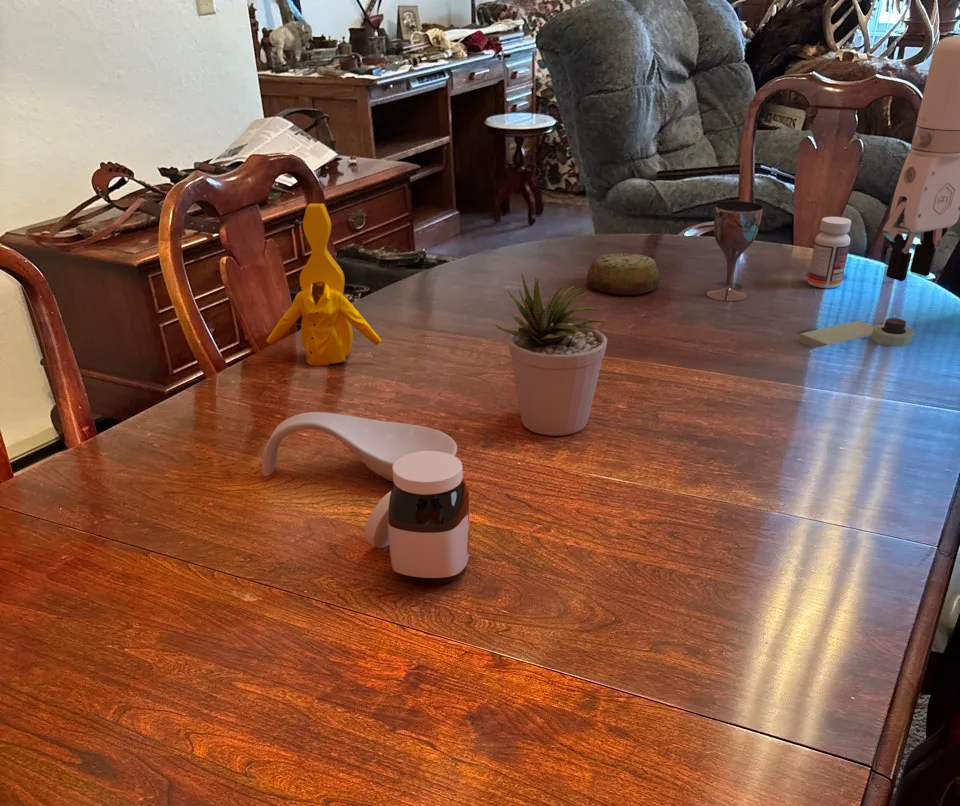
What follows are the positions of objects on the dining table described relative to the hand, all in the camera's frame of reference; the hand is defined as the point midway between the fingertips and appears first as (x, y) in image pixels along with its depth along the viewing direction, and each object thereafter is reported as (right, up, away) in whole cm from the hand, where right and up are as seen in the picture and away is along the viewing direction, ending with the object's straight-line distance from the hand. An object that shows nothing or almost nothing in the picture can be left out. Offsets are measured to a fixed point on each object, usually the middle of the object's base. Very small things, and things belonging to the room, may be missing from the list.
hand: (907, 274), depth 144 cm
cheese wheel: (-38, +11, +35) cm, 53 cm away
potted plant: (-55, -26, -15) cm, 63 cm away
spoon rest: (-79, -35, -26) cm, 90 cm away
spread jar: (-71, -47, -43) cm, 95 cm away
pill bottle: (0, +11, +35) cm, 37 cm away
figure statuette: (-88, -11, +5) cm, 89 cm away
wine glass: (-20, +8, +30) cm, 37 cm away
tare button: (0, -7, +5) cm, 9 cm away
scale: (-5, -8, +8) cm, 12 cm away
